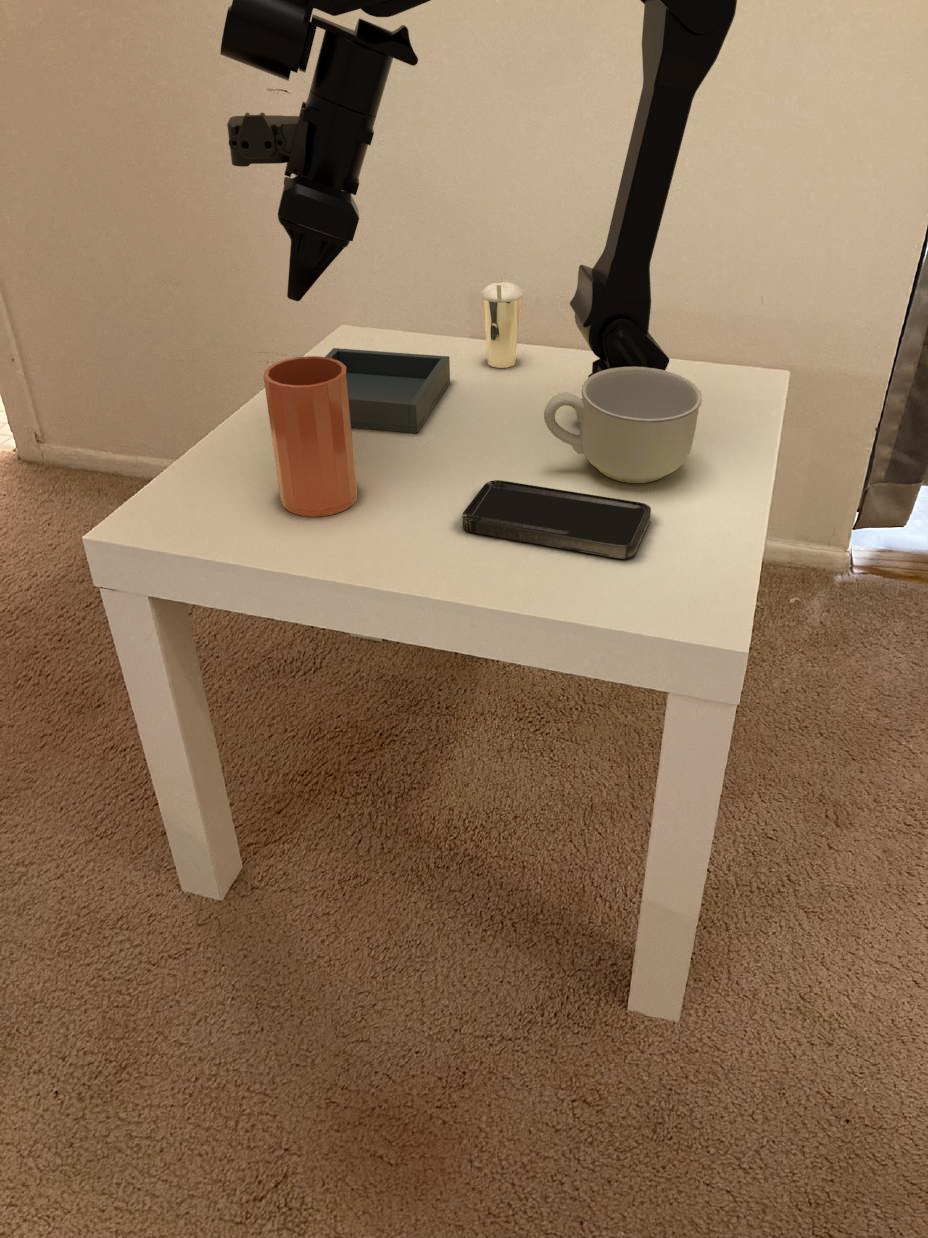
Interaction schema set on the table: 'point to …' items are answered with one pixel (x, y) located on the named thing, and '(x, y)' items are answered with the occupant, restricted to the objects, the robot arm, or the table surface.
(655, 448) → the teacup
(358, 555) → the table surface
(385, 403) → the tray
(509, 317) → the milkshake
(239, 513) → the table surface
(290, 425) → the cup
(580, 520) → the phone
